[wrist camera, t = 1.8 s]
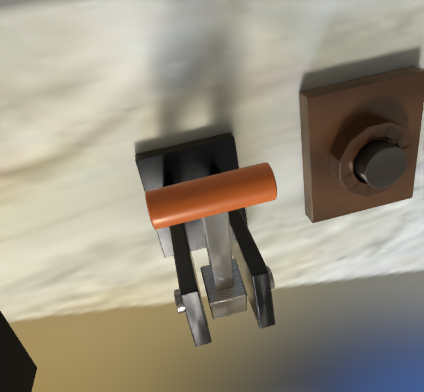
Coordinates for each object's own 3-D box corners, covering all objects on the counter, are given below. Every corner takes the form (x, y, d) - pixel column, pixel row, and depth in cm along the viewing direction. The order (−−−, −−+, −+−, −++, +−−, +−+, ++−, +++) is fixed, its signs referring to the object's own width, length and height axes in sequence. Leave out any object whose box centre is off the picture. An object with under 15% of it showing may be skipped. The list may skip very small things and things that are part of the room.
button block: (299, 92, 31) (317, 104, 28) (414, 65, 32) (443, 74, 29) (305, 213, 37) (320, 234, 34) (401, 189, 38) (425, 207, 35)
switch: (141, 175, 15) (150, 225, 14) (262, 146, 16) (282, 192, 14) (183, 290, 25) (191, 325, 24) (256, 270, 25) (268, 304, 24)
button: (354, 144, 31) (366, 153, 29) (396, 134, 31) (410, 142, 29) (353, 183, 32) (364, 193, 31) (393, 173, 33) (405, 182, 31)
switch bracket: (135, 154, 31) (139, 262, 19) (230, 132, 31) (292, 223, 20) (164, 250, 36) (181, 381, 24) (245, 229, 37) (301, 348, 25)
